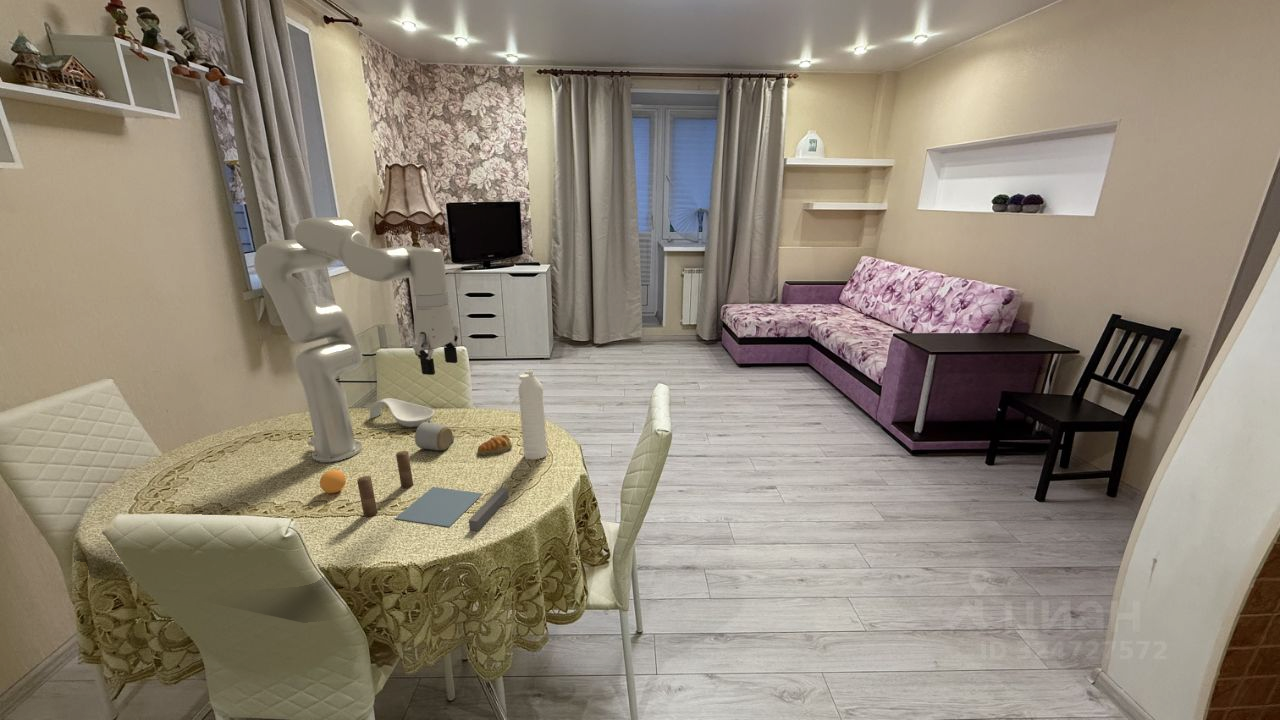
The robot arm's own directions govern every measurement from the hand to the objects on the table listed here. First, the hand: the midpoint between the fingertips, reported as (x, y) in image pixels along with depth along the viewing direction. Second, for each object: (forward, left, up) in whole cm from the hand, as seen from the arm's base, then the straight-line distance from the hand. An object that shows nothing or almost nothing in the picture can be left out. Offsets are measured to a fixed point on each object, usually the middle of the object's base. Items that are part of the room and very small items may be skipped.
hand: (440, 368), depth 131 cm
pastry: (+5, +14, -29) cm, 33 cm away
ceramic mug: (-14, +13, -29) cm, 35 cm away
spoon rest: (-37, +27, -29) cm, 54 cm away
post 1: (-8, -22, -29) cm, 37 cm away
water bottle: (+17, +12, -29) cm, 36 cm away
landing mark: (+6, -16, -29) cm, 33 cm away
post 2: (-8, -9, -29) cm, 31 cm away
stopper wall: (+19, -16, -29) cm, 38 cm away
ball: (-24, -16, -26) cm, 38 cm away
